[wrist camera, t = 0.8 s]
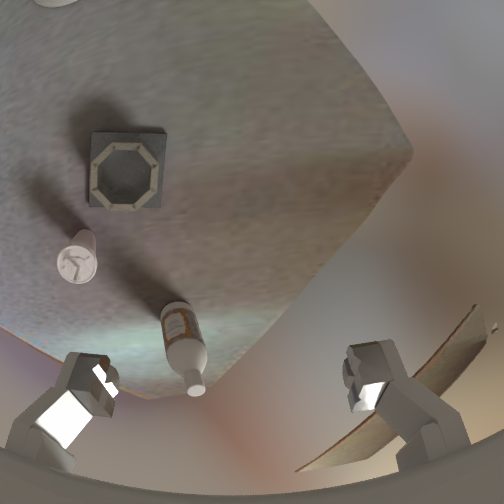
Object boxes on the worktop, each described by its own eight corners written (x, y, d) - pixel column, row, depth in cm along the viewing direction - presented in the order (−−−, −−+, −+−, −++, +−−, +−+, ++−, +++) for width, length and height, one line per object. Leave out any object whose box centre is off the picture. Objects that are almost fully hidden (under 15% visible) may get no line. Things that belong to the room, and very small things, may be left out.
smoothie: (94, 261, 50) (84, 307, 38) (63, 246, 47) (43, 289, 35) (109, 231, 48) (100, 270, 37) (76, 215, 45) (57, 250, 33)
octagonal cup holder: (92, 131, 41) (85, 134, 35) (166, 133, 45) (169, 136, 40) (90, 205, 46) (83, 218, 40) (160, 206, 50) (162, 218, 44)
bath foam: (185, 294, 58) (207, 369, 42) (199, 319, 62) (225, 393, 45) (153, 309, 58) (165, 387, 41) (170, 333, 61) (187, 409, 44)
